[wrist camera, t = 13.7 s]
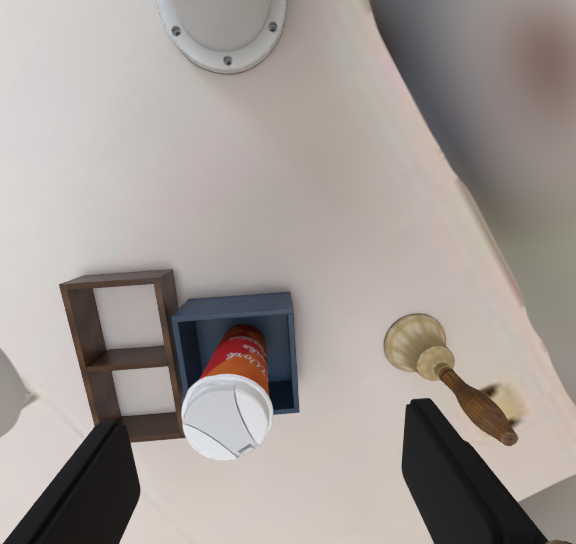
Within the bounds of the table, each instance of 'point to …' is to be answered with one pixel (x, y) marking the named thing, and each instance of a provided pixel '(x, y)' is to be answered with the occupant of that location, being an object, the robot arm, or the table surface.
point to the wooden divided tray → (124, 352)
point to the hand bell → (443, 371)
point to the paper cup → (230, 398)
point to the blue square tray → (231, 312)
